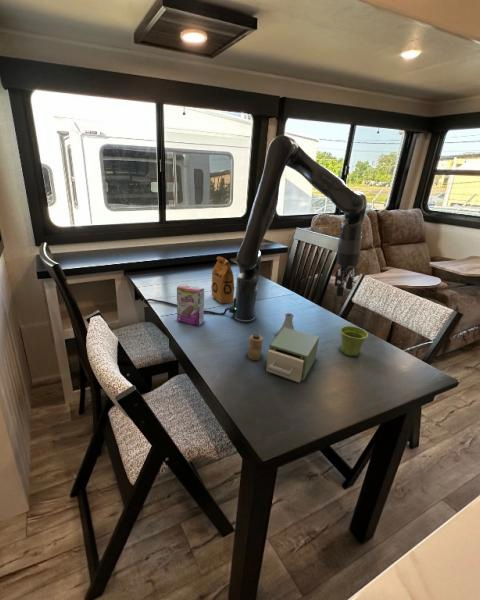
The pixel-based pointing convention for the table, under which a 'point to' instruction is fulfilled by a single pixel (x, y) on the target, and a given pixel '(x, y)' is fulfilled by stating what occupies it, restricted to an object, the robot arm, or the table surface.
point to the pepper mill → (255, 347)
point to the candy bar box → (190, 304)
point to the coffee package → (222, 281)
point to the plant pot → (352, 339)
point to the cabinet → (297, 346)
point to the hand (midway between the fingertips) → (344, 292)
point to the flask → (287, 322)
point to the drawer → (285, 364)
